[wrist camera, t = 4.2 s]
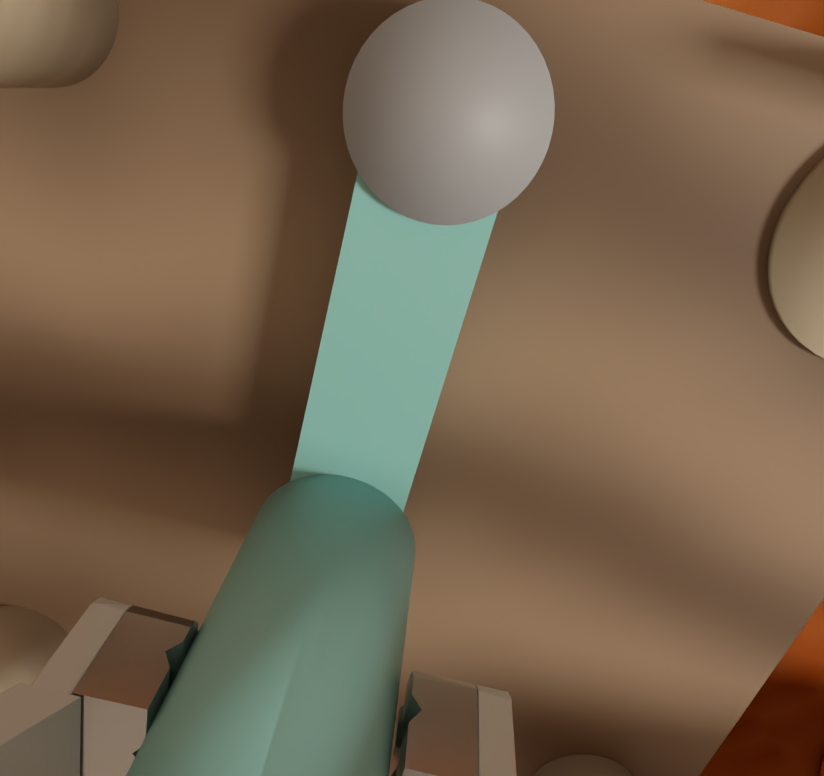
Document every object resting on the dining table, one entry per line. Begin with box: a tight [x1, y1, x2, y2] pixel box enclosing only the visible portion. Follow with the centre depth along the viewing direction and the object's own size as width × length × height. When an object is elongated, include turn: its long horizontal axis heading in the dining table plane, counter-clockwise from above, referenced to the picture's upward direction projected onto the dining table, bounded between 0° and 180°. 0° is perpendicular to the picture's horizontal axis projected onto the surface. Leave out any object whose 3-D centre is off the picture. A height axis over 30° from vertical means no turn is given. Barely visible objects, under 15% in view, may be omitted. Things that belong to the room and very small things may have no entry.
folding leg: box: [126, 0, 555, 776], centre depth 9 cm, size 11×3×8 cm, turn 165°
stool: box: [0, 0, 824, 776], centre depth 13 cm, size 20×20×8 cm
